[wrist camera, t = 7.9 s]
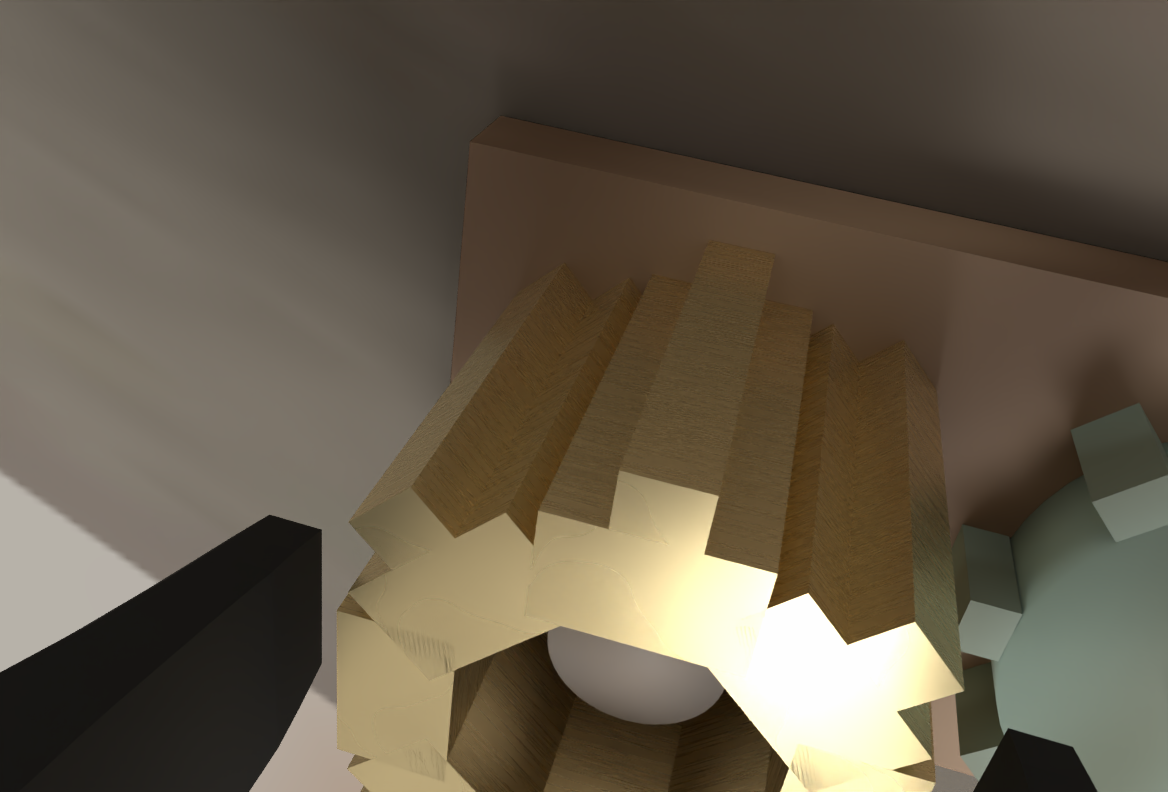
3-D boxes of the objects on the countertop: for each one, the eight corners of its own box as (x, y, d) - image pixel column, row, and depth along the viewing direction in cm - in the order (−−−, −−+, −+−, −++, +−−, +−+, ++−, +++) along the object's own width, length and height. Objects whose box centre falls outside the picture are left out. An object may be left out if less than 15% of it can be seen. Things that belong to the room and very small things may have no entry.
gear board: (1685, 375, 11) (2108, 679, 7) (1313, 815, 16) (1458, 1156, 12) (500, 115, 13) (341, 248, 9) (457, 569, 18) (335, 792, 14)
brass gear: (981, 298, 12) (1036, 577, 8) (830, 699, 15) (810, 1038, 11) (518, 197, 12) (336, 397, 8) (478, 600, 16) (337, 882, 12)
